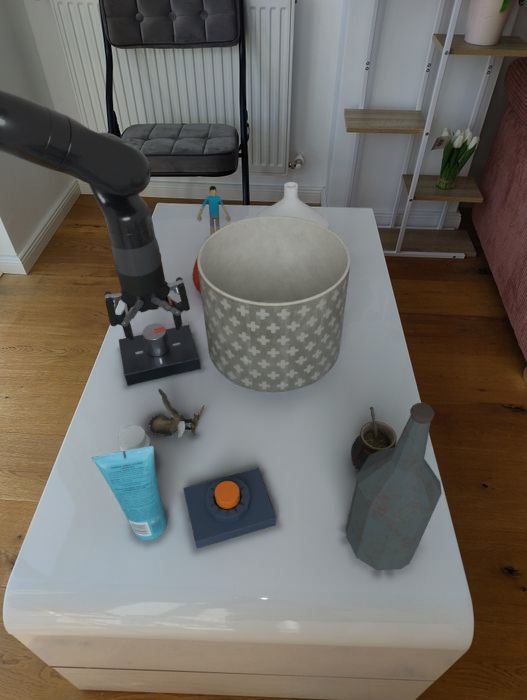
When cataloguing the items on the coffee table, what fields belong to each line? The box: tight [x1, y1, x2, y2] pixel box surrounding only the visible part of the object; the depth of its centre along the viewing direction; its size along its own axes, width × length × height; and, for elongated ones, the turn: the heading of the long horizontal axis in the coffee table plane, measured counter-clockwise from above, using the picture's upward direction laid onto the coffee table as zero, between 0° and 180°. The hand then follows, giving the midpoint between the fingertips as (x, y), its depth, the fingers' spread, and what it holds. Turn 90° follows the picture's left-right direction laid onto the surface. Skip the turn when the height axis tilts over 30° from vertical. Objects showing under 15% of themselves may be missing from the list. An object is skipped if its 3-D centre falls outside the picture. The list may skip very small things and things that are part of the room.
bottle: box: [345, 402, 443, 571], centre depth 65 cm, size 10×10×30 cm
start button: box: [215, 481, 240, 509], centre depth 76 cm, size 4×4×2 cm
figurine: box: [196, 185, 232, 237], centre depth 125 cm, size 8×3×15 cm, turn 94°
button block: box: [182, 467, 277, 549], centre depth 77 cm, size 12×9×4 cm
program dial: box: [141, 323, 169, 356], centre depth 98 cm, size 4×4×5 cm
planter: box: [196, 216, 351, 393], centre depth 93 cm, size 25×25×24 cm
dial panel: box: [118, 324, 201, 386], centre depth 100 cm, size 14×10×3 cm
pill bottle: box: [118, 424, 156, 462], centre depth 82 cm, size 5×5×8 cm
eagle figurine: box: [148, 388, 206, 439], centre depth 88 cm, size 8×7×9 cm
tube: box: [91, 445, 167, 541], centre depth 70 cm, size 7×5×19 cm, turn 107°
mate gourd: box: [350, 406, 398, 472], centre depth 81 cm, size 7×8×10 cm
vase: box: [254, 181, 331, 230], centre depth 118 cm, size 18×18×19 cm
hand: (154, 332), depth 97 cm, fingers open, 8 cm apart
